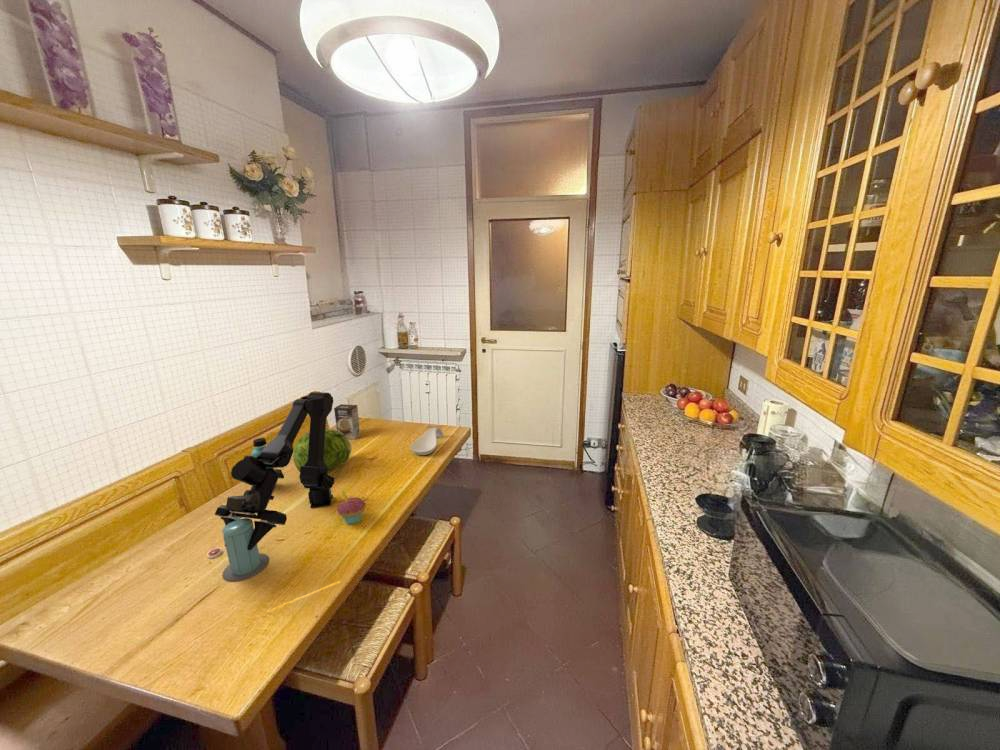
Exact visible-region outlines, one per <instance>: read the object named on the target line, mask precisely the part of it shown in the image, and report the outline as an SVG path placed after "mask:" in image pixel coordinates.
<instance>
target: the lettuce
mask: <svg viewBox="0 0 1000 750" xmlns="http://www.w3.org/2000/svg"><path fill="white" fill-rule="evenodd" d="M308 446H309V432H307V433H305V434H304V435H302V436H301V437H300V438H299V439H298V440H297V442H296V443H295V444H294V445H293V454H292V458H293V462H294V466H295V467H296V469H297V471H298V472H299V473H300V467H301V466H304V465H305V463H306V462H307V459H308ZM351 453H352V444H351V442H350V440H349V439H347V438H346V437H345V436H344V435H343V434H341V433H339V432H338V431H337V430H334V429H328V428H327V429H325V443H324V458H323V459H324V462H325V464H326V466H327V467H328V473H329V472H332V471H334V470H336V469H337V468H339V467H341V466H342V465H343V464H344V463H346V462H347V461H348V459H349V457H350V455H351Z"/></svg>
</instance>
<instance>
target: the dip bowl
mask: <svg viewBox="0 0 1000 750" xmlns="http://www.w3.org/2000/svg"><path fill="white" fill-rule="evenodd" d="M221 554H223V549H222V548H221V547H216V548H215V547H214V548H213V549H210V550H209V551H208V552H207V553H206V558H207V559H215V558H218V556H220V555H221Z"/></svg>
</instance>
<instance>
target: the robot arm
mask: <svg viewBox="0 0 1000 750" xmlns="http://www.w3.org/2000/svg"><path fill="white" fill-rule="evenodd" d="M333 397H334V396H332V394H331V393H329V392H323V391H322V392H320V391H318V392H317V391H311V392H309V393H308V394H307V395H304V396H301V397H300V398H297V399H295V400H294V401H293V402H292V407H291V409H290V411H289V413H288V415H287V417H286V419H284V420H285V421H284V422H283V424H282V426H281V428H280V430H279V432H277V435H276V437H274V438H273V439H271V440H270V441H269V442H268V443H267V444H266V445H265V446H266V447H265V448H264V449H263V451H262V452H261V453H260V454H259V455H258V456H256V457H253V456H252V455H247V454H246V455H244V457H243V459H240V460H238V461H237V462H236V463H235V464H234V465H233V466H232V468H231V472H230V473H231V474H230V475H231V478H233V480H236V481H238V482H241V483H244V484H246V485H249V486H250V489H246V490H245V491H244V493H243V495H233V496H227V499H226V505H223V504H221V505H219V506H218V507H217V508H216V510H215V512H214V515H215V516H219V517H220V520H223V523H224V524H225V526H226V525H227V524H229V523H231V522H233V521H235V520H238V519H244V518H248V519H251V520H252V519H253V520H254V521H253V526H254V531H253V534H252V536H251V539H250V542H249V544H248V548H247V550H252V548H253V547H254V546H255V545H256V544H257V545H258V543H259V542H260V541H261V540H262V539H263V538H264V537H265V536H266V535H267V534H268V533H269V532H270V531H271V530H272V529H274V528H277V525H279V526H280V525H281V526H285V525H286V522H287V520H288V518H287V513H284V512H281V511H278V510H271V509H267V507H268V505H269V502H270V501H273V500H274V498H275V496H274V495H272V494H273V493H274V489H275V488H276V485H277V483H278V480H279V479H284V478H285V475H284V473H283V471H282V469H281V468H284V467H287V466H288V465H289V464H290V461H291V458H293V449H294V442H295V440H296V438H297V435H298V433H299V432H300V429H301V428H302V427H303V426H302V425H303V424H304V422H305V421H306V418H307V416H308V417H309V418H310V420H309V432H308V433H309V446H308V459H307V462H306V463H305V465H304V466H301V467H300V472H299V477H298V479H299V481H300V484H301V485H302V486H303V488H304V489H308V492H307V495H308V501H309V504H310V506H309V507H310V508H311V509H312V508H314V509H315V508H321V507H326V506H331V504H332V501H333V498H334V495H333V494H332V488H333V486H334V485H335V478H336V477H334V476H332V475H330V474H329V472H328V467H327V466H326V464H325V462H324V459H323V458H324V443H325V429H326V426H327V425H326V424H327V418H328V417H329V415H330V414H331V412H332V410H333V404H334V398H333ZM267 467H272V468H274V469H275V470H274V469H272V468H267ZM278 468H280V469H278ZM224 547H225V548H226V546H225V545H224Z"/></svg>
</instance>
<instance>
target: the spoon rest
mask: <svg viewBox="0 0 1000 750" xmlns="http://www.w3.org/2000/svg"><path fill="white" fill-rule="evenodd" d="M439 437H442V438H444V434H443V431H442V429H441V428H440V427H430V428H428V429H426V431H425V432H424V433H422V435H420V437H418V438H417V439H416V440H414V441H413V442H412V443H411V445H410V447H409V448H410V451H412V452H413V453H414V454H416V455H418V456H427V455H430V454H431V453H433V452H434V451H435V450H436V448H437V447H438V446H437V445H438V439H437V438H439Z"/></svg>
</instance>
